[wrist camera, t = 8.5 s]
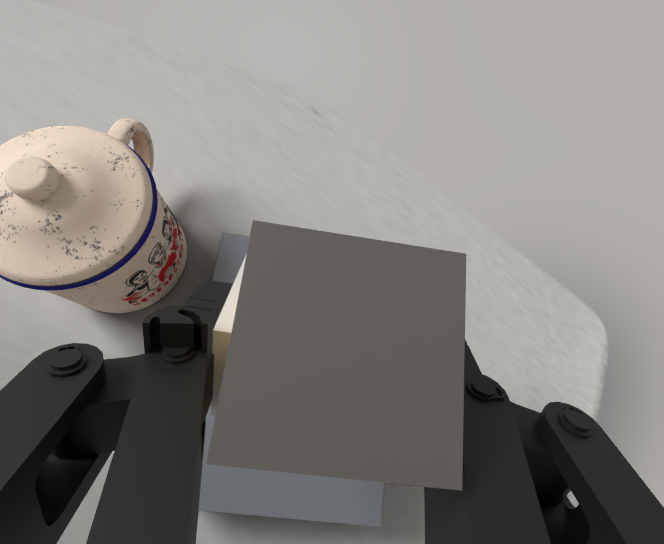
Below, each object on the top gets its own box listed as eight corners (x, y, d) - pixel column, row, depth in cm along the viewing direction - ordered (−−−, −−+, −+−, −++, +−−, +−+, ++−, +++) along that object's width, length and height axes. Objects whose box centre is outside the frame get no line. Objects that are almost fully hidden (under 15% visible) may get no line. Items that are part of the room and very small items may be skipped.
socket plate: (181, 487, 24) (163, 507, 21) (229, 252, 29) (222, 232, 25) (366, 505, 26) (380, 527, 22) (384, 275, 30) (399, 260, 26)
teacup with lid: (165, 332, 27) (84, 297, 16) (35, 298, 26) (-143, 237, 15) (221, 185, 31) (186, 72, 19) (106, 152, 30) (5, 18, 19)
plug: (255, 412, 16) (206, 464, 6) (270, 318, 17) (252, 220, 7) (348, 423, 17) (462, 490, 6) (357, 330, 18) (466, 253, 7)
